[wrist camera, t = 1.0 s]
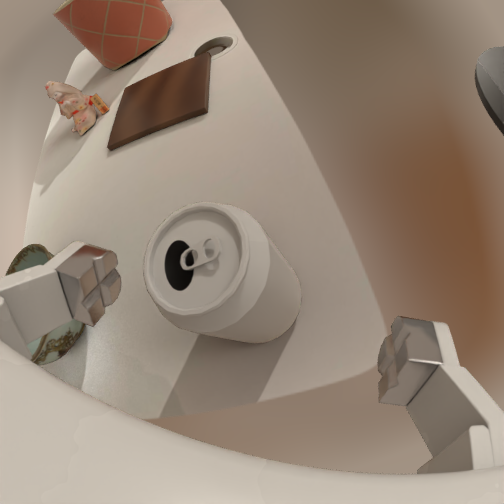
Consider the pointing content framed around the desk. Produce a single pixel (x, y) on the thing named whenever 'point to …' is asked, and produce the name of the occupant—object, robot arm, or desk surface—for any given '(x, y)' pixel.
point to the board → (162, 100)
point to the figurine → (76, 105)
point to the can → (221, 275)
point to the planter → (116, 27)
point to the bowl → (60, 338)
